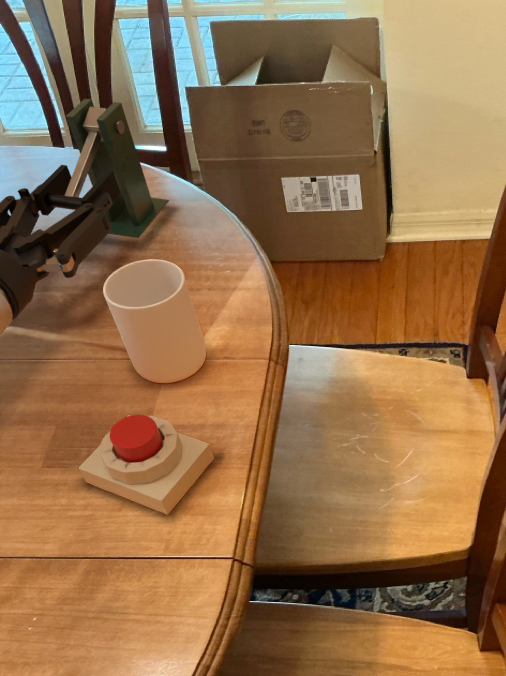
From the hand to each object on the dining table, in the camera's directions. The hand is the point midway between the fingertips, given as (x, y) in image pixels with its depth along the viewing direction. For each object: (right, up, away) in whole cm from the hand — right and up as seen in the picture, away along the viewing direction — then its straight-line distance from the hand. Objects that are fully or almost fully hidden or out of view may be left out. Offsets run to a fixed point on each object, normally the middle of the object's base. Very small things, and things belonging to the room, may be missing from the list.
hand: (90, 179), depth 93 cm
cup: (+11, -22, -5) cm, 26 cm away
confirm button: (+13, -35, -19) cm, 42 cm away
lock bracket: (+2, -1, +10) cm, 10 cm away
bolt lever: (0, +1, 0) cm, 1 cm away
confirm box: (+13, -37, -16) cm, 42 cm away
